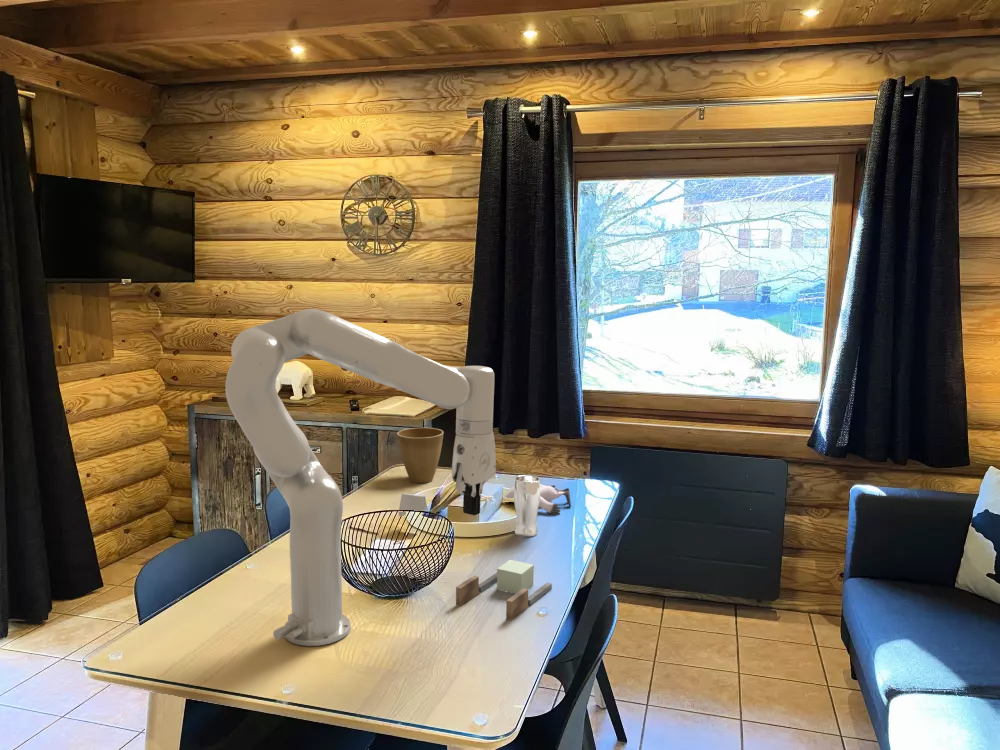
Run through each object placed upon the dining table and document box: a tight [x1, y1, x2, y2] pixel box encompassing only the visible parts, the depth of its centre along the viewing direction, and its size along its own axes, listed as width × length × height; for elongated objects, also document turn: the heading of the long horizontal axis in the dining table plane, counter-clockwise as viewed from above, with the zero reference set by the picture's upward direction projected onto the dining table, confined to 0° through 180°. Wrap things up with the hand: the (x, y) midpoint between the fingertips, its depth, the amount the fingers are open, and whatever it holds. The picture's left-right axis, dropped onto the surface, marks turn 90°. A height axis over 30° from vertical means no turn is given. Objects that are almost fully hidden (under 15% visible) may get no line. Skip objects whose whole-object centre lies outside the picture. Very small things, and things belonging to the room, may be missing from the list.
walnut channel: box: [455, 575, 529, 621], centre depth 164 cm, size 7×13×4 cm, turn 59°
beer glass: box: [513, 474, 541, 538], centre depth 207 cm, size 7×7×15 cm
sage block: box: [496, 559, 535, 594], centre depth 174 cm, size 6×6×5 cm
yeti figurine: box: [505, 483, 572, 516], centre depth 234 cm, size 20×7×20 cm
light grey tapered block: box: [398, 493, 429, 517], centre depth 208 cm, size 4×7×10 cm, turn 70°
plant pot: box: [396, 427, 444, 484], centre depth 255 cm, size 15×15×16 cm
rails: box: [479, 572, 553, 606], centre depth 173 cm, size 10×13×1 cm
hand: (471, 513), depth 163 cm, fingers closed
